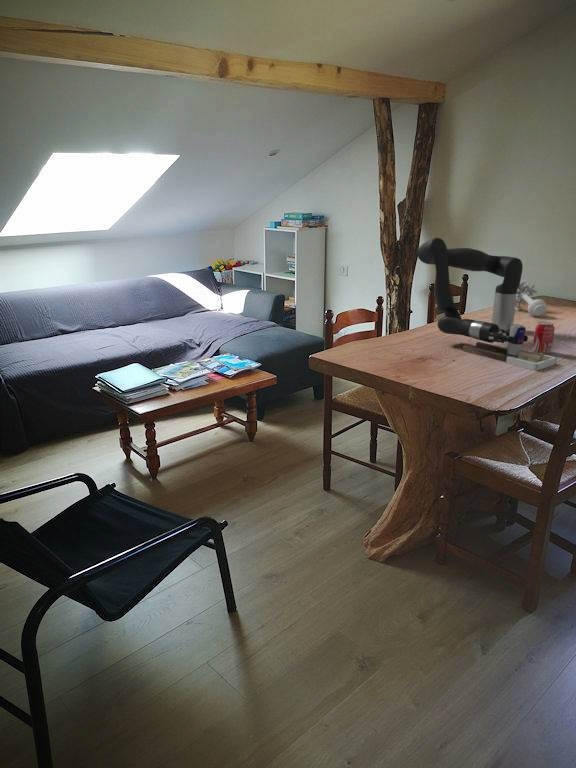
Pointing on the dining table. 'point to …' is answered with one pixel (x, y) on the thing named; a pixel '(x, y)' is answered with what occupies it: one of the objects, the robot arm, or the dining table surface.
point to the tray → (533, 366)
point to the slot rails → (487, 353)
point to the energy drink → (516, 332)
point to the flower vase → (530, 300)
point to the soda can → (543, 337)
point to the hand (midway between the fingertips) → (522, 340)
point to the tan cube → (524, 355)
